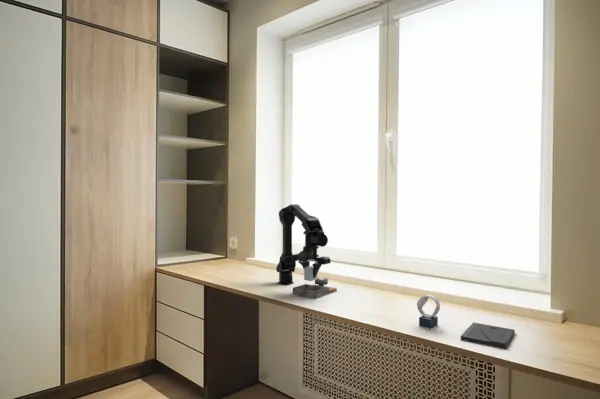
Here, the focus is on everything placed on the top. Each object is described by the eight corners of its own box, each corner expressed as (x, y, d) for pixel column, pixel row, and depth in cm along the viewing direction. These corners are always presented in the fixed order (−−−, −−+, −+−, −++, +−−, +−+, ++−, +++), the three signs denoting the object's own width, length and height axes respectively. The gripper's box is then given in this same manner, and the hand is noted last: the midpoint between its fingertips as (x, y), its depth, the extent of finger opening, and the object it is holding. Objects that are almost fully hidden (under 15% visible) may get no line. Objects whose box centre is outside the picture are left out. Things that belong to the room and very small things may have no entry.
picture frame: (505, 351, 124) (514, 335, 138) (506, 343, 124) (514, 328, 138) (460, 341, 131) (473, 327, 146) (460, 334, 131) (473, 321, 146)
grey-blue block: (304, 280, 190) (304, 267, 190) (310, 278, 194) (310, 265, 194) (311, 281, 188) (311, 268, 187) (317, 279, 192) (317, 266, 191)
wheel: (312, 283, 197) (312, 279, 197) (319, 281, 202) (319, 276, 202) (323, 285, 194) (323, 280, 194) (330, 283, 199) (330, 278, 199)
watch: (421, 321, 150) (422, 292, 150) (442, 326, 145) (442, 295, 145) (414, 324, 147) (414, 294, 146) (434, 329, 141) (435, 298, 141)
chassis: (292, 294, 191) (292, 287, 190) (313, 287, 205) (313, 281, 205) (316, 298, 182) (316, 291, 182) (336, 291, 197) (336, 284, 197)
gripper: (285, 244, 190) (284, 277, 190) (318, 247, 179) (317, 282, 179) (299, 242, 199) (298, 273, 199) (331, 245, 188) (331, 278, 188)
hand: (310, 277), depth 191 cm, fingers closed on grey-blue block, 4 cm apart
